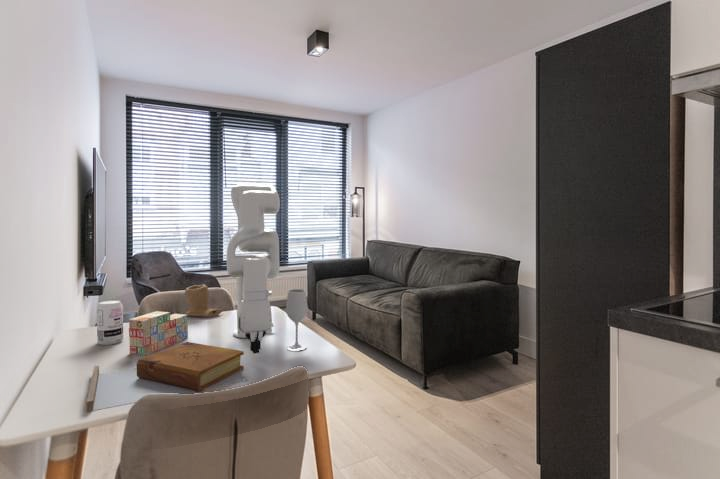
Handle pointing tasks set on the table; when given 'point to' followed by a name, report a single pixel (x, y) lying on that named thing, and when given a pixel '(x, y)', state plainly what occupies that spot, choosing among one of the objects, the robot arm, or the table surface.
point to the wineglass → (296, 309)
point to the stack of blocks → (156, 331)
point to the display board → (133, 388)
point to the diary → (190, 365)
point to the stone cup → (199, 301)
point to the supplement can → (109, 322)
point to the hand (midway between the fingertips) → (255, 352)
